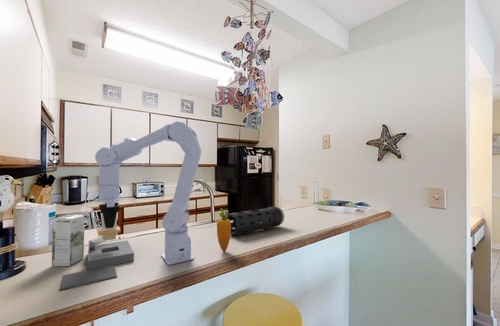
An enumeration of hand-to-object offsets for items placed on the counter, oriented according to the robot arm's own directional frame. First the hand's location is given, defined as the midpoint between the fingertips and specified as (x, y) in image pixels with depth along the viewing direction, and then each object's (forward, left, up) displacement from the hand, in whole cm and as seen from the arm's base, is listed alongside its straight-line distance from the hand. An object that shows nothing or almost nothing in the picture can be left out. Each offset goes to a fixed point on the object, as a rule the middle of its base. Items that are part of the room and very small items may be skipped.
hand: (109, 226), depth 76 cm
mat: (-12, +5, -10) cm, 17 cm away
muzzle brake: (-2, -58, -11) cm, 59 cm away
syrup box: (+3, +11, -11) cm, 15 cm away
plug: (0, 0, -4) cm, 4 cm away
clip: (+9, +1, -8) cm, 12 cm away
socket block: (+1, 0, -10) cm, 10 cm away
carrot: (-17, -33, -11) cm, 39 cm away
